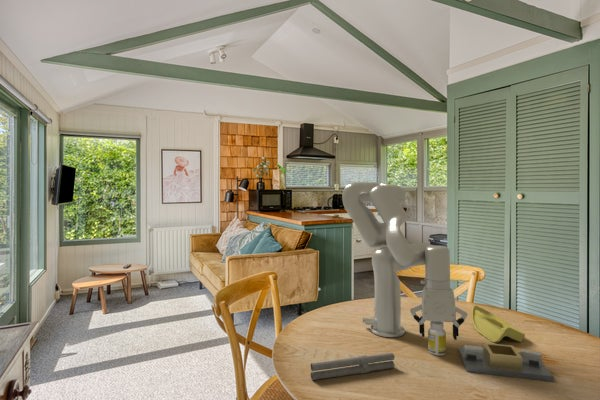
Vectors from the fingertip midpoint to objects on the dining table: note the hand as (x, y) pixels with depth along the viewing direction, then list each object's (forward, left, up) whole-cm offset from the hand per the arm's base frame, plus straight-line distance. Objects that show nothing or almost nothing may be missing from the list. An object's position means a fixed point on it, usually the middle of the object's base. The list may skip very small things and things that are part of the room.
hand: (438, 336), depth 116 cm
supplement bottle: (0, 0, -6) cm, 5 cm away
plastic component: (+22, +23, -6) cm, 32 cm away
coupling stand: (+18, -4, -5) cm, 19 cm away
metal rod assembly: (-25, -20, -6) cm, 32 cm away
